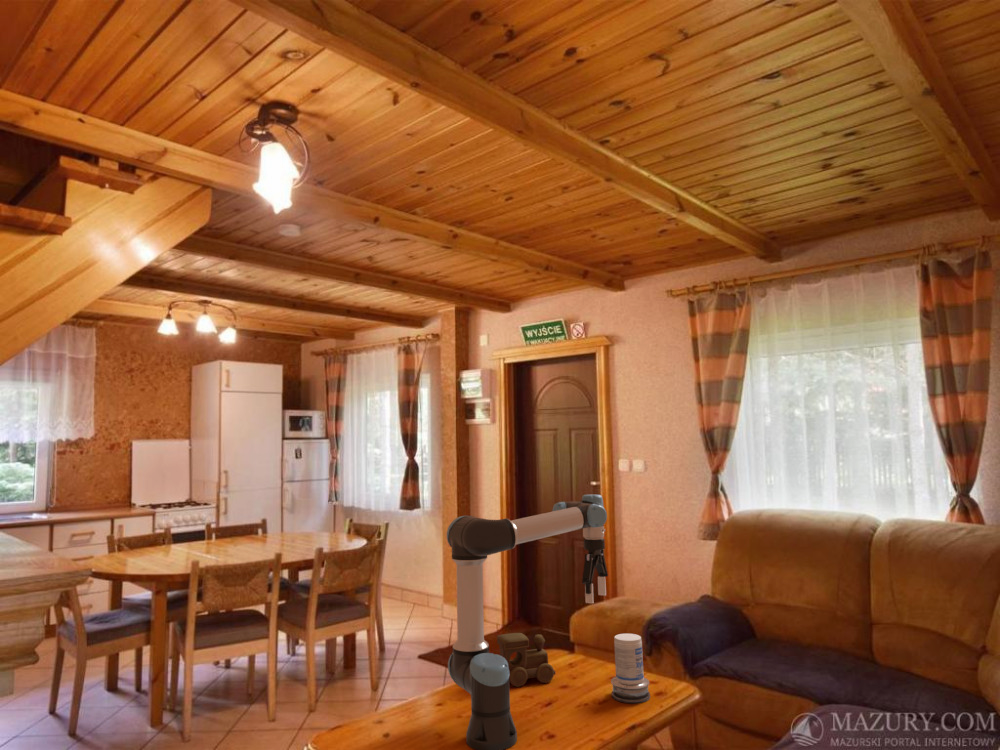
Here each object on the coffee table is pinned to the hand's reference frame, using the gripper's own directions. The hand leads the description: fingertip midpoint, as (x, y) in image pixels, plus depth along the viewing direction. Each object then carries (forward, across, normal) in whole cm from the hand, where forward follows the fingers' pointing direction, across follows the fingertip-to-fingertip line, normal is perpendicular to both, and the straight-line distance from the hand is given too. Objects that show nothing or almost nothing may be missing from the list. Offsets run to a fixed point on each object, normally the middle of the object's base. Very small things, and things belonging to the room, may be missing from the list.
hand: (596, 599), depth 234 cm
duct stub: (+32, +2, -11) cm, 34 cm away
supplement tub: (+27, +2, -11) cm, 29 cm away
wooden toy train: (+33, +2, +29) cm, 44 cm away
